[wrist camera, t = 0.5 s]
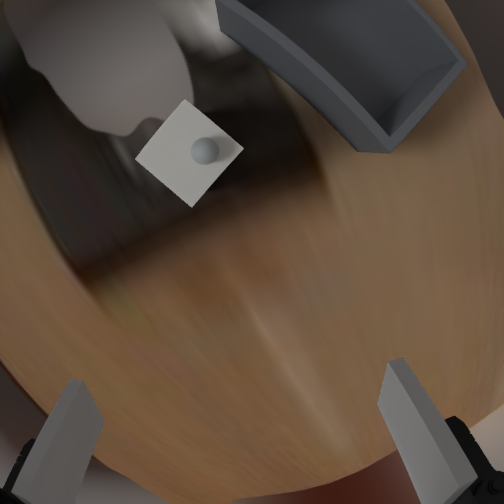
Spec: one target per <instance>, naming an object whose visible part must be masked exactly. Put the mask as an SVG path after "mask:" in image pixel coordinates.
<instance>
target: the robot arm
mask: <svg viewBox="0 0 504 504" xmlns="http://www.w3.org/2000/svg"><path fill="white" fill-rule="evenodd" d="M377 405H378V408H379V410H380V412H381V414H382V416H383V418H384V420H385V422H386V425H387V427H388V429H389V431H390V433H391V435H392V438H393V440H394V442H395V444H396V446H397V449H398V451H399V453H400V455H401V457H402V460H403V462H404V464H405V466H406V469H407V471H408V473H409V476H410V478H411V480H412V482H413V485H414V487H415V489H416V492H417V494H418V497H419V499H420V501H421V504H504V472H501V471H496V470H495V469H494V468H493V467H492V466H491V464H490V463H489V461H488V460H487V458H486V456H485V455H484V453H483V451H482V450H481V448H480V446H479V445H478V443H477V442H476V441H475V439H474V437H473V436H472V434H470V431H469V429H468V428H467V426H466V425H465V423H464V422H463V421H461V420H460V419H458V418H457V417H456V416H452V417H450V418H447V419H445V420H444V419H443V417H442V415H441V414H440V412H439V411H438V409H437V408H436V406H435V404H434V403H433V401H432V400H431V398H430V397H429V395H428V394H427V392H426V391H425V389H424V388H423V386H422V385H421V383H420V382H419V380H418V379H417V377H416V376H415V374H414V373H413V371H412V370H411V368H410V367H409V365H408V364H407V362H406V361H405V360H404V358H400V359H396V360H392V361H388V363H387V367H386V372H385V376H384V380H383V384H382V388H381V392H380V396H379V399H378V403H377ZM104 422H105V420H104V418H103V417H102V415H101V413H100V411H99V410H98V408H97V406H96V404H95V402H94V401H93V399H92V397H91V395H90V393H89V391H88V389H87V387H86V385H85V383H84V381H79V380H70V381H69V382H68V384H67V386H66V387H65V389H64V391H63V392H62V394H61V396H60V398H59V399H58V401H57V403H56V405H55V406H54V408H53V410H52V412H51V413H50V415H49V417H48V419H47V421H46V423H45V424H44V426H43V428H42V430H41V432H40V434H39V435H38V438H37V439H36V440H35V439H30V440H29V441H28V442H27V443H26V444H25V445H24V447H23V449H22V451H21V452H20V456H18V458H17V460H16V463H15V464H14V466H13V468H12V471H11V472H10V474H9V477H8V479H7V481H6V483H5V485H4V487H3V488H2V489H1V488H0V504H75V501H76V498H77V495H78V492H79V489H80V486H81V483H82V480H83V478H84V474H85V472H86V469H87V466H88V463H89V461H90V458H91V455H92V453H93V450H94V447H95V445H96V442H97V440H98V437H99V434H100V432H101V429H102V427H103V424H104Z"/></svg>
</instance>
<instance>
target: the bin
mask: <svg viewBox="0 0 504 504" xmlns="http://www.w3.org/2000/svg"><path fill="white" fill-rule="evenodd" d="M215 3H216V8H217V14H218V19H219V25H220V31H221V32H223V33H224V34H226V35H227V36H228V37H230V38H231V39H232V40H234V41H235V42H237V43H238V44H239V45H241V46H242V47H243V48H244V49H246V50H247V51H248V52H250V53H251V54H252V55H254V56H255V57H256V58H257V59H259V60H260V61H261V62H262V63H264V64H265V65H266V66H267V67H268V68H270V69H271V70H272V71H273V72H275V73H276V74H277V75H278V76H279V77H280V78H282V79H283V80H284V81H285V82H286V83H287V84H289V85H290V86H291V87H292V88H293V89H294V90H295V91H296V92H298V93H299V94H300V95H301V96H302V97H303V98H304V99H305V100H306V101H307V102H308V103H310V104H311V105H312V106H313V107H314V108H315V109H316V110H317V111H318V112H319V113H320V114H321V115H322V116H323V117H324V118H325V119H326V120H327V121H328V122H329V123H330V124H331V125H332V126H333V127H334V128H335V129H336V130H337V131H338V132H339V133H340V134H341V135H342V136H343V137H344V138H345V139H346V140H347V141H348V142H349V143H350V144H351V146H352V147H353V148H354V149H355V150H356V151H357V152H373V153H389V154H390V153H391V152H392V151H393V150H394V149H395V148H396V147H397V145H398V144H399V143H400V142H401V141H402V140H403V139H404V138H405V137H406V135H407V134H408V133H409V132H410V131H411V130H412V129H413V128H414V126H415V125H416V124H417V123H418V122H419V121H420V120H421V118H422V117H423V116H424V115H425V114H426V113H427V112H428V110H429V109H430V108H431V107H432V106H433V105H434V104H435V102H436V101H437V100H438V99H439V98H440V97H441V95H442V94H443V93H444V92H445V91H446V90H447V88H448V87H449V86H450V85H451V84H452V83H453V81H454V80H455V79H456V78H457V77H458V75H459V74H460V73H461V72H462V71H463V69H464V68H465V67H466V66H467V65H468V63H467V61H466V60H465V58H464V57H463V56H462V54H461V53H460V52H459V50H458V49H457V48H456V47H455V45H454V44H453V43H452V42H451V40H450V39H449V38H448V37H447V35H446V34H445V33H444V32H443V31H442V29H441V28H440V27H439V26H438V25H437V24H436V23H435V21H434V20H433V19H432V18H431V17H430V16H429V15H428V14H427V13H426V12H425V11H424V10H423V8H422V7H421V6H420V5H419V4H418V3H417V2H416V1H415V0H215Z"/></svg>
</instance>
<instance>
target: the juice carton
mask: <svg viewBox="0 0 504 504" xmlns="http://www.w3.org/2000/svg"><path fill="white" fill-rule="evenodd" d="M243 149H244V148H243V147H242V146H240V145H239V144H238V143H237V142H236V141H235V140H234V139H232V138H231V137H230V136H229V135H228V134H227V133H225V132H224V131H223V130H222V129H221V128H219V127H218V126H217V125H216V124H215V123H213V122H212V121H211V120H210V119H209V118H207V117H206V116H205V115H204V114H203V113H201V112H200V111H199V110H198V109H196V108H195V107H194V106H193V105H191V104H190V103H189V102H188V101H186V100H185V99H184V100H183V102H182V103H181V104H180V105H179V106H178V107H177V108H176V109H175V110H174V112H173V113H172V114H171V115H170V116H169V117H168V119H167V120H166V121H165V122H164V123H163V125H162V126H161V127H160V128H159V129H158V131H157V132H156V133H155V134H154V135H153V137H152V138H151V139H150V140H149V142H148V143H147V144H146V146H145V147H144V148H143V149H142V151H141V152H140V153H139V155H138V156H137V157H136V159H135V160H137V161H138V162H139V163H140V164H141V165H142V166H144V167H145V168H146V169H147V170H148V171H149V172H151V173H152V174H153V175H154V176H155V177H157V178H158V179H159V180H160V181H161V182H162V183H164V184H165V185H166V186H167V187H168V188H169V189H171V190H172V191H173V192H174V193H175V194H177V195H178V196H179V197H180V198H181V199H182V200H184V201H185V202H186V203H187V204H188V205H190V206H191V207H193V205H194V204H195V203H196V202H197V201H198V200H199V198H200V197H201V196H202V195H203V194H204V193H205V192H206V190H207V189H208V188H209V187H210V186H211V185H212V184H213V182H214V181H215V180H216V179H217V178H218V177H219V176H220V174H221V173H222V172H223V171H224V170H225V169H226V168H227V167H228V166H229V164H230V163H231V162H232V161H233V160H234V159H235V158H236V157H237V156H238V155H239V153H240V152H241V151H242V150H243Z"/></svg>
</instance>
